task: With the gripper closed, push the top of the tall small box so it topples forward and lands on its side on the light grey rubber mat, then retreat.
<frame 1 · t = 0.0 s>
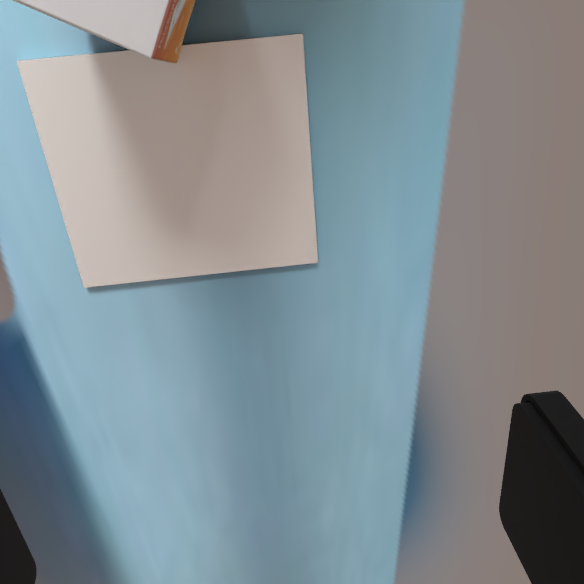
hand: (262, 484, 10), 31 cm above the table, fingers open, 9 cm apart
mat: (184, 170, 38), on the table
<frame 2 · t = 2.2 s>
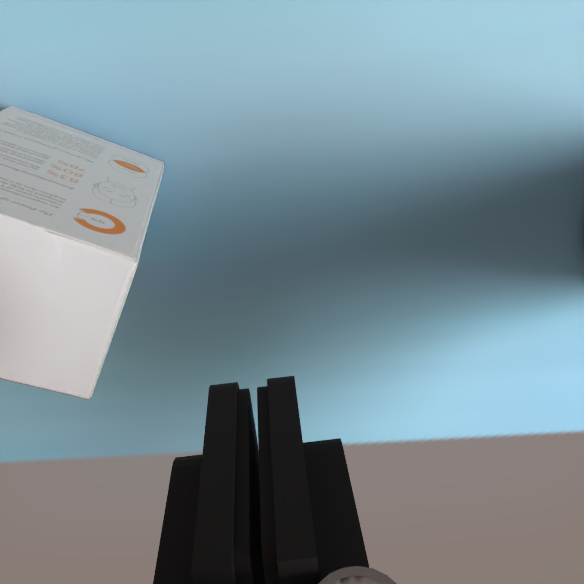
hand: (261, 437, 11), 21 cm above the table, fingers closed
small box: (77, 187, 29), on the table, touching mat
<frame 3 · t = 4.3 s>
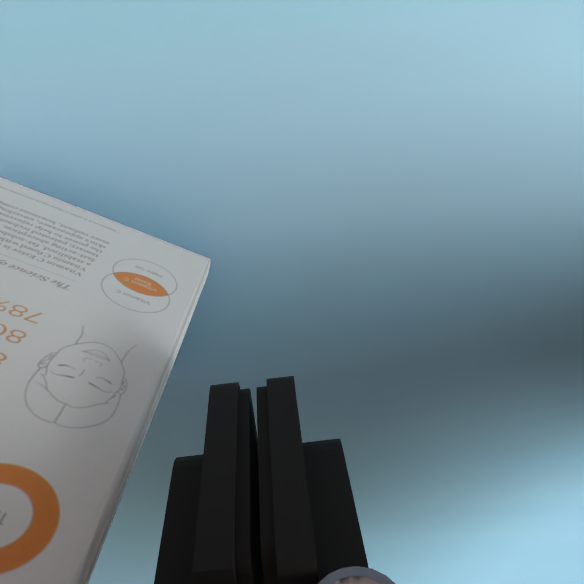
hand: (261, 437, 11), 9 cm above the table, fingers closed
small box: (79, 289, 19), point 1 cm above the table, touching gripper, mat
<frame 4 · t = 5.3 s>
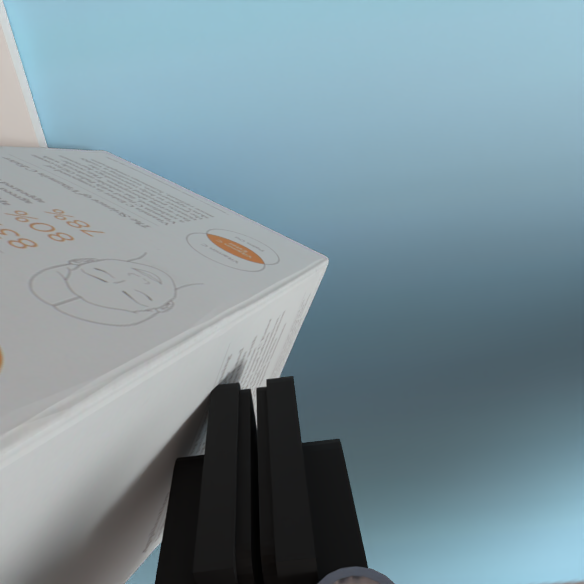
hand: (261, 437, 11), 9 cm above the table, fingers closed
small box: (185, 292, 17), point 2 cm above the table, touching gripper, mat
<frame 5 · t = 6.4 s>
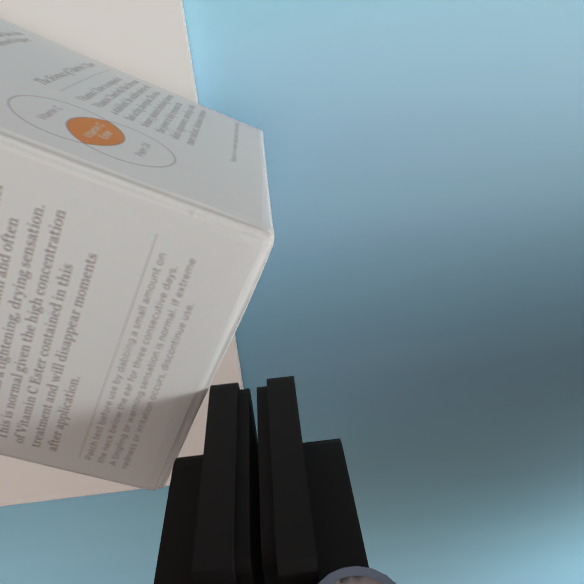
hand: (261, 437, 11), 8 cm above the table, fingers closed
small box: (230, 288, 13), point 5 cm above the table, touching gripper, mat
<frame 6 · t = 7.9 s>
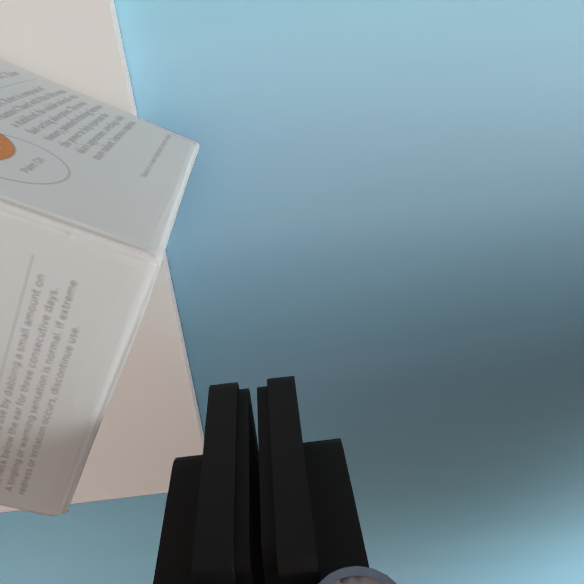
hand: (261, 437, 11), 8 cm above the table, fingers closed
small box: (153, 305, 13), point 5 cm above the table, touching mat
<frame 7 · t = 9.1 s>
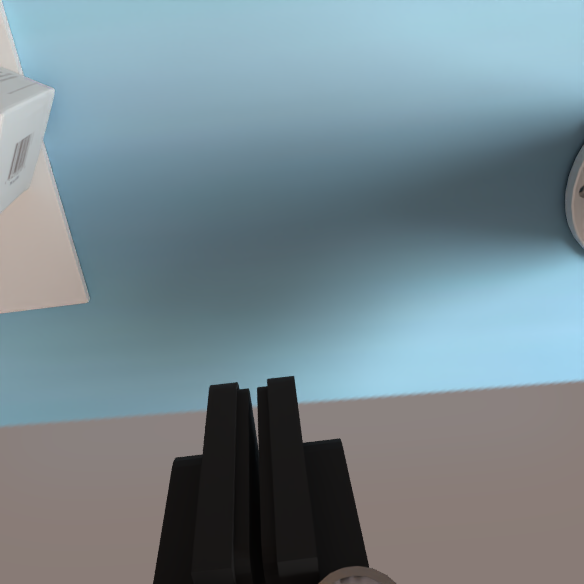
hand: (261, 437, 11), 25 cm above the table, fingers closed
small box: (24, 160, 28), point 5 cm above the table, touching mat
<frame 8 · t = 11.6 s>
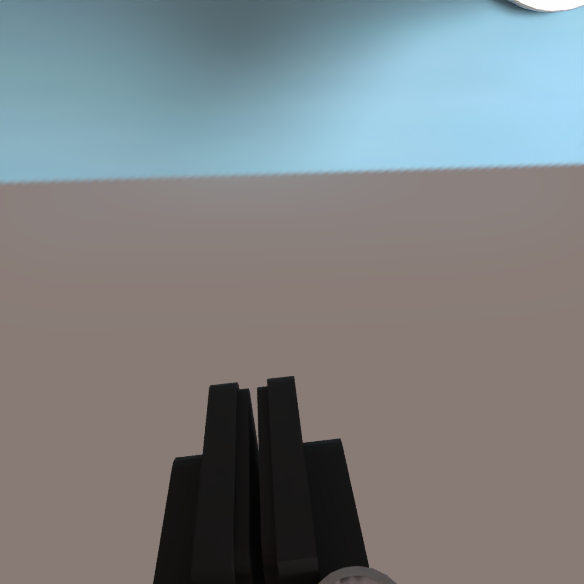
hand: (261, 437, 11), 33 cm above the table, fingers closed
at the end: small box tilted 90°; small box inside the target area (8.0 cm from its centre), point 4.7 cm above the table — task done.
